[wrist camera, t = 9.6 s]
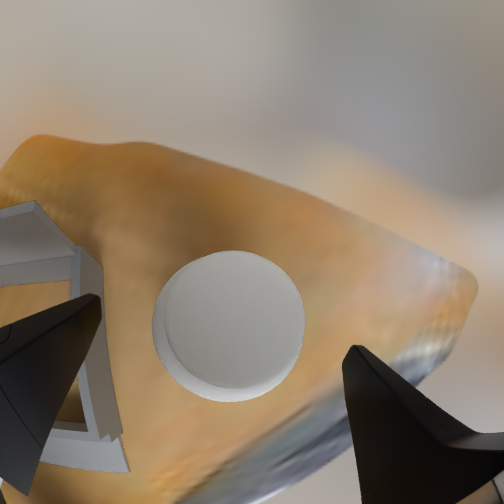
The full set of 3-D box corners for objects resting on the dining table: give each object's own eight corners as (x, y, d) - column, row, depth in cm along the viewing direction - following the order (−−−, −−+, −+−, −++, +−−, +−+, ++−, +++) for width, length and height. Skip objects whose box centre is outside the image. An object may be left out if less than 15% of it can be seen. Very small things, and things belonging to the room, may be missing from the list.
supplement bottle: (162, 311, 17) (113, 254, 7) (243, 284, 18) (286, 203, 9) (193, 393, 15) (179, 444, 6) (275, 362, 17) (359, 365, 7)
